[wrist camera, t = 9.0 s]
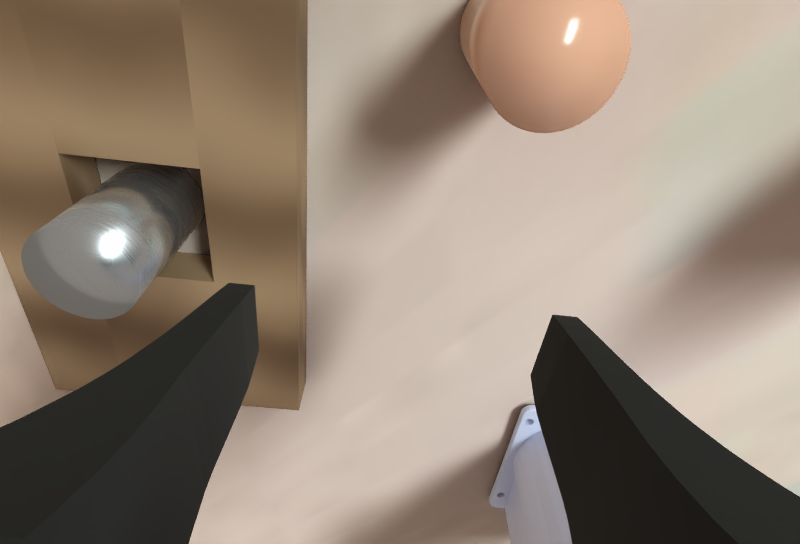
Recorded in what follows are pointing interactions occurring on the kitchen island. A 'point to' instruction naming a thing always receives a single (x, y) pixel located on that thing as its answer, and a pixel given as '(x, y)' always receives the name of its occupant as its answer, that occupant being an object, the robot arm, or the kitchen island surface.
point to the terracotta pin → (546, 57)
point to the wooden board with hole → (163, 161)
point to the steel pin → (114, 240)
